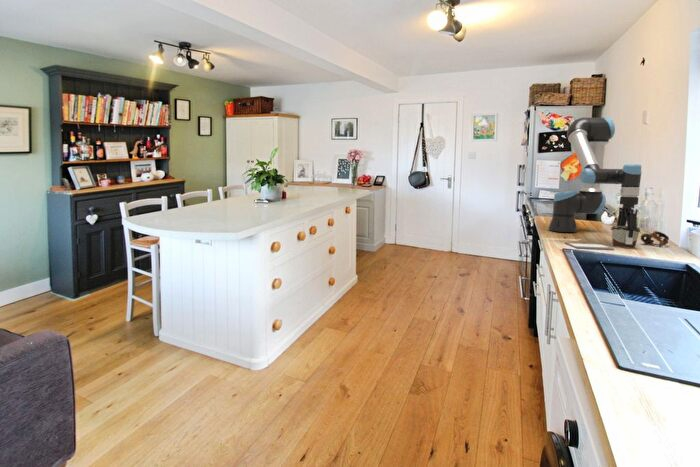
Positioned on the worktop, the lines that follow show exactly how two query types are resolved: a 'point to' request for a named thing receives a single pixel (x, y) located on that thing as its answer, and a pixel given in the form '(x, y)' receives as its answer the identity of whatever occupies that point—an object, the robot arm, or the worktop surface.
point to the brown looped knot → (655, 236)
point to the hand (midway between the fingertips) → (624, 242)
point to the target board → (589, 246)
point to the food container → (623, 237)
